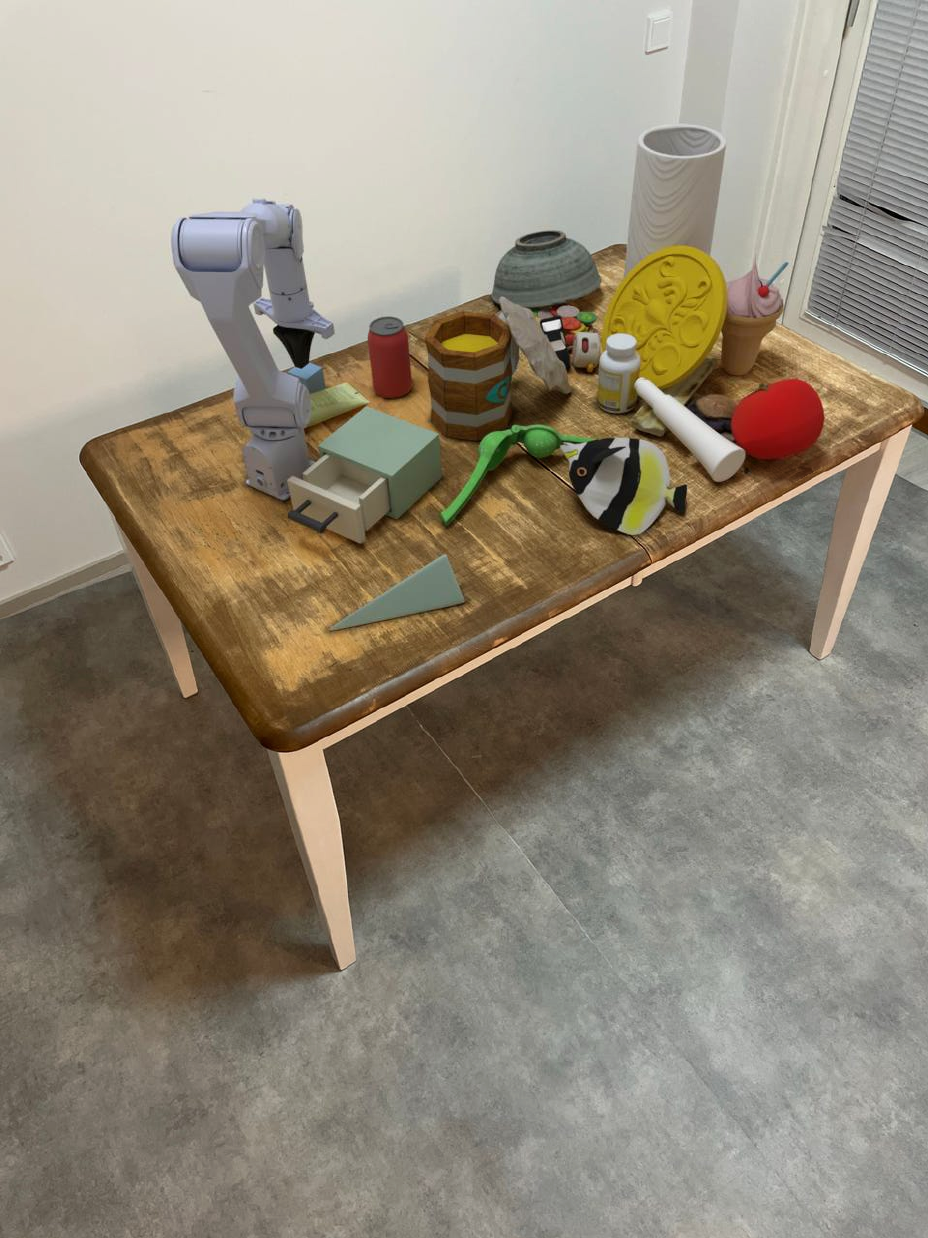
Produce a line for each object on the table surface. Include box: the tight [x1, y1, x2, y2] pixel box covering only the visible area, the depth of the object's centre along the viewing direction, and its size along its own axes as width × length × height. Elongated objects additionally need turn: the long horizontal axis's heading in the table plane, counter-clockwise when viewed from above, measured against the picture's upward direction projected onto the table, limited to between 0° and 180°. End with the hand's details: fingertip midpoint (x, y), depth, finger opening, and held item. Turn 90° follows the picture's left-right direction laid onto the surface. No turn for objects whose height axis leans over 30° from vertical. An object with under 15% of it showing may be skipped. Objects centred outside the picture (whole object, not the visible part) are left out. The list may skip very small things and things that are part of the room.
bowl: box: [491, 229, 602, 309], centre depth 180 cm, size 21×21×10 cm
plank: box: [630, 357, 719, 437], centre depth 159 cm, size 23×6×3 cm, turn 149°
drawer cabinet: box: [317, 406, 443, 521], centre depth 144 cm, size 12×14×8 cm
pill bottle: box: [596, 333, 641, 414], centre depth 155 cm, size 6×6×12 cm
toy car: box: [540, 316, 571, 371], centre depth 167 cm, size 10×4×3 cm
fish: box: [560, 437, 688, 536], centre depth 139 cm, size 12×20×15 cm
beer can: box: [367, 315, 413, 399], centre depth 160 cm, size 7×7×12 cm
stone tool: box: [499, 297, 573, 395], centre depth 152 cm, size 12×4×25 cm
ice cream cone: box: [720, 254, 789, 376], centre depth 158 cm, size 11×11×20 cm
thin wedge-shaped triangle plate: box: [328, 553, 466, 632], centre depth 128 cm, size 8×6×18 cm
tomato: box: [731, 378, 825, 460], centre depth 145 cm, size 12×14×11 cm
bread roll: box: [685, 393, 738, 443], centre depth 154 cm, size 11×8×4 cm
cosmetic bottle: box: [634, 377, 747, 483], centre depth 148 cm, size 6×6×22 cm
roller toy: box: [571, 332, 601, 373], centre depth 165 cm, size 4×6×6 cm
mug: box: [424, 310, 520, 442], centre depth 154 cm, size 20×14×15 cm
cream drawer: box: [286, 453, 391, 544], centre depth 139 cm, size 15×12×6 cm
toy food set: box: [530, 302, 598, 351], centre depth 173 cm, size 13×13×3 cm
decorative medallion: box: [601, 246, 727, 390], centre depth 157 cm, size 24×24×2 cm
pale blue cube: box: [286, 362, 327, 394], centre depth 164 cm, size 4×4×4 cm
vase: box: [623, 123, 727, 279], centre depth 165 cm, size 14×14×32 cm
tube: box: [248, 381, 371, 436], centre depth 158 cm, size 6×5×20 cm
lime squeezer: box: [439, 424, 598, 527], centre depth 145 cm, size 34×12×6 cm, turn 115°
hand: (302, 364), depth 155 cm, fingers closed
